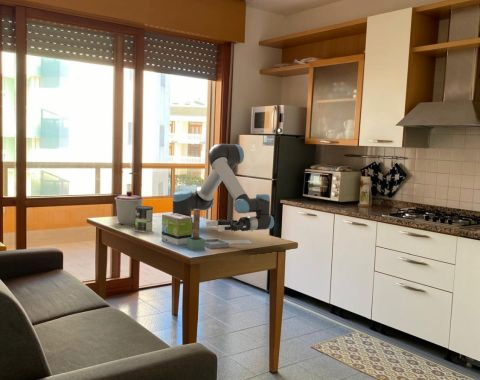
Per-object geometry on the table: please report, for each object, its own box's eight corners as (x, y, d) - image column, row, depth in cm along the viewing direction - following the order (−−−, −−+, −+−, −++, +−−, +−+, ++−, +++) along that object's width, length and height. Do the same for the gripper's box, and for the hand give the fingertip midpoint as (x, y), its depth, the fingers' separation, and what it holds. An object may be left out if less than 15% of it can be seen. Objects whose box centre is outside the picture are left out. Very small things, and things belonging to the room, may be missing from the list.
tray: (199, 244, 250) (199, 239, 250) (217, 243, 256) (218, 238, 255) (209, 249, 240) (209, 244, 240) (228, 247, 245) (228, 242, 245)
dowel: (191, 247, 240) (192, 209, 238) (197, 247, 241) (198, 208, 239) (193, 249, 237) (195, 209, 235) (199, 248, 239) (201, 209, 237)
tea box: (160, 241, 255) (161, 214, 253) (175, 238, 262) (176, 212, 261) (177, 246, 244) (178, 218, 243) (192, 243, 251) (193, 216, 250)
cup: (186, 248, 240) (186, 237, 240) (198, 247, 244) (199, 236, 243) (191, 251, 234) (192, 240, 234) (204, 250, 238) (205, 239, 237)
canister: (133, 220, 314) (133, 189, 312) (148, 224, 302) (149, 191, 300) (108, 222, 301) (109, 190, 299) (124, 227, 289) (124, 193, 287)
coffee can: (137, 232, 275) (138, 208, 274) (133, 229, 284) (133, 206, 283) (154, 231, 280) (155, 208, 278) (149, 228, 289) (150, 205, 288)
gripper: (259, 235, 243) (223, 238, 232) (235, 226, 264) (201, 228, 253) (260, 220, 242) (224, 223, 231) (236, 213, 263) (202, 215, 253)
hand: (212, 226), depth 242 cm, fingers open, 13 cm apart
